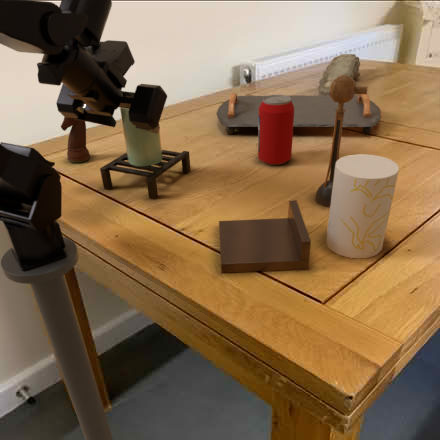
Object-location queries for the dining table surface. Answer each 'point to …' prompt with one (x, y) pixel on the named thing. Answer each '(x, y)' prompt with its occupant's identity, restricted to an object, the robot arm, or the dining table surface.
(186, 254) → the dining table surface
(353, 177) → the white patterned canister
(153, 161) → the green cup
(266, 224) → the shelf
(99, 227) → the dining table surface
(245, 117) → the serving tray
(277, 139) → the beverage can
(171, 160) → the rack
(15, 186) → the robot arm
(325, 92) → the elongated rock
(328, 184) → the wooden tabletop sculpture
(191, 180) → the dining table surface
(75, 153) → the chess piece
